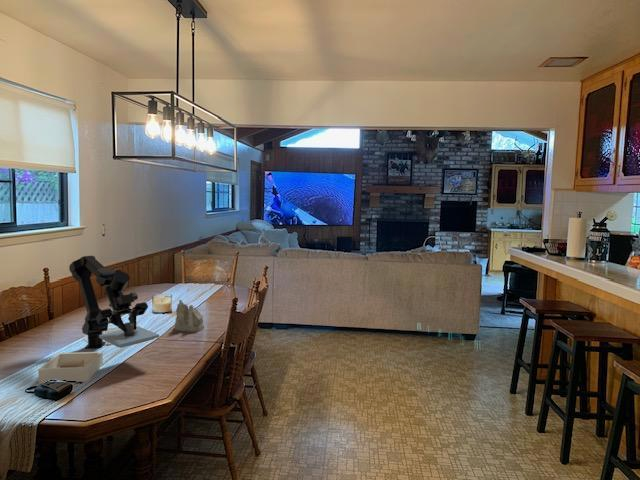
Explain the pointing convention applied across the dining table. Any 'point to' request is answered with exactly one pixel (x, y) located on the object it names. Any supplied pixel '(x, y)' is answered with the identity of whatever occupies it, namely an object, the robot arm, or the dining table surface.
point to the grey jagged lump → (188, 318)
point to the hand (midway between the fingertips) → (130, 330)
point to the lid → (129, 336)
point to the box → (71, 367)
